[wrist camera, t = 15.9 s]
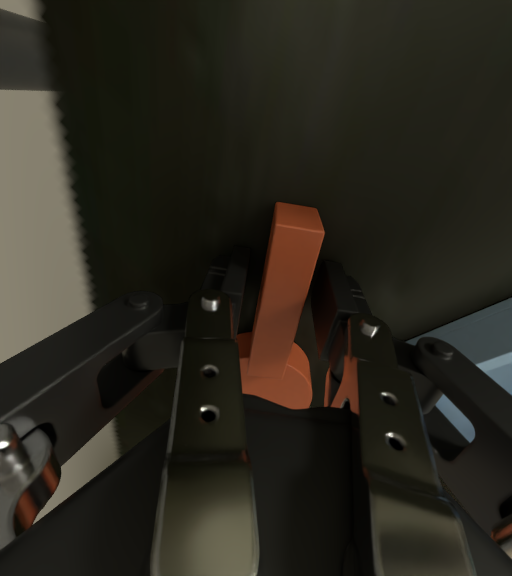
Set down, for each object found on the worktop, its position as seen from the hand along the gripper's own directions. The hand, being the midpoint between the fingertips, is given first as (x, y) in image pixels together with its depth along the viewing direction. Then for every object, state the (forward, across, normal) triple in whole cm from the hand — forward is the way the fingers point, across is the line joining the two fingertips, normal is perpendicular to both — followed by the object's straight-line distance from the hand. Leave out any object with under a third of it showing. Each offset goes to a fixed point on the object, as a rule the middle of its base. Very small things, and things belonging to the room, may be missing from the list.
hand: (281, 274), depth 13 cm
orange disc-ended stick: (0, 0, +3) cm, 3 cm away
